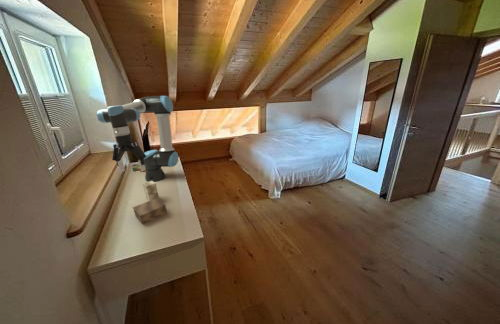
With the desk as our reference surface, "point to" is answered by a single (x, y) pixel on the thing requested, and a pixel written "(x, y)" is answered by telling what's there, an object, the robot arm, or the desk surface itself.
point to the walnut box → (150, 210)
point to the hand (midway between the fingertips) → (132, 171)
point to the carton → (138, 168)
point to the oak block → (150, 190)
